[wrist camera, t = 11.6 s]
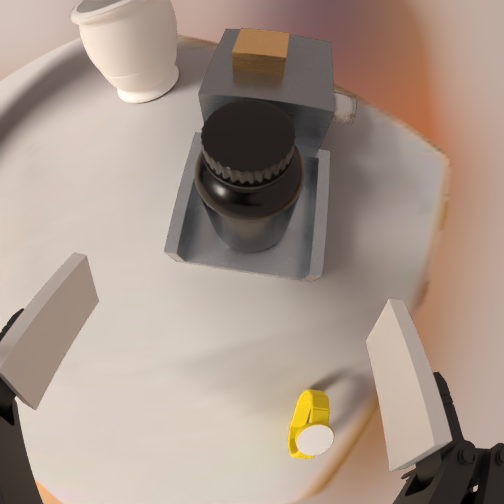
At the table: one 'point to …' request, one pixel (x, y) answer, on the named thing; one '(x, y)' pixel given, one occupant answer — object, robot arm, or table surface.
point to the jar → (131, 44)
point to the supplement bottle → (249, 173)
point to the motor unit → (307, 141)
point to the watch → (310, 426)
